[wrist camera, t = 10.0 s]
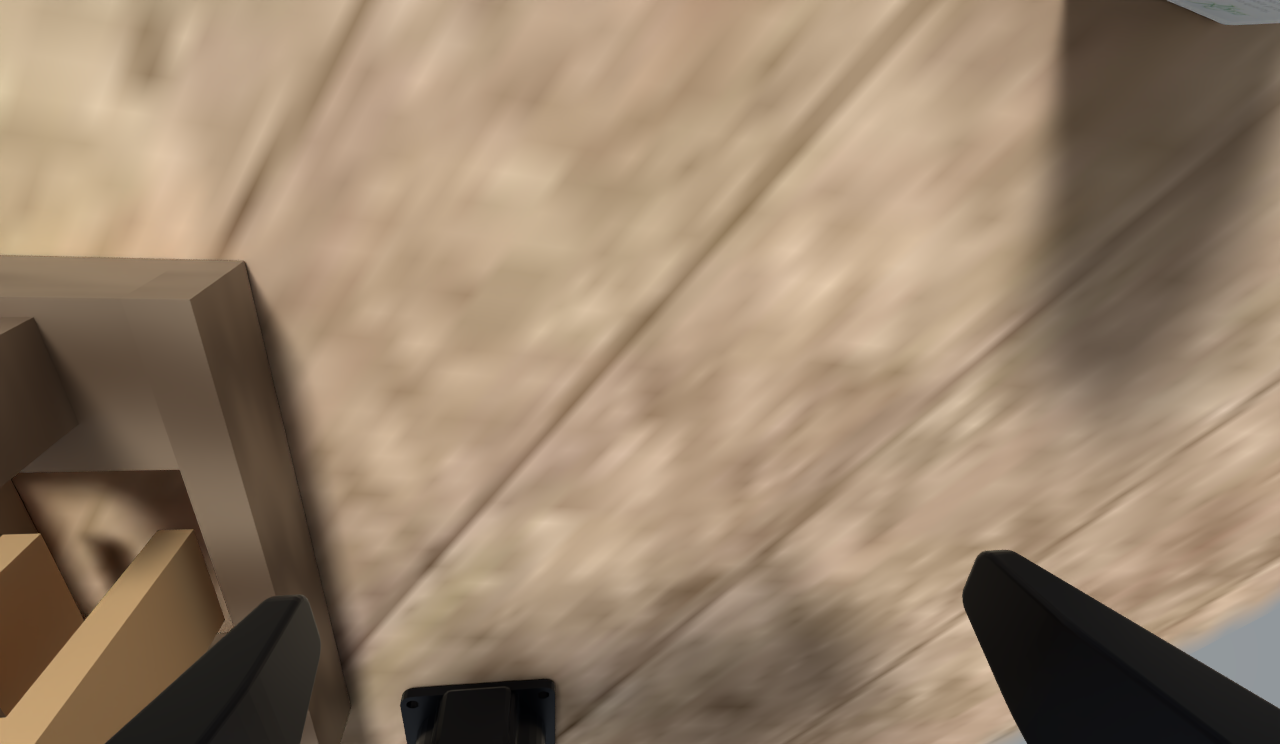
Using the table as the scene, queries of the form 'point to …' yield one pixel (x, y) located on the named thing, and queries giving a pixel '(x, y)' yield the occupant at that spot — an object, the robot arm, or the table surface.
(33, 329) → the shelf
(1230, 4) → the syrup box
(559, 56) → the table surface
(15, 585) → the clip
